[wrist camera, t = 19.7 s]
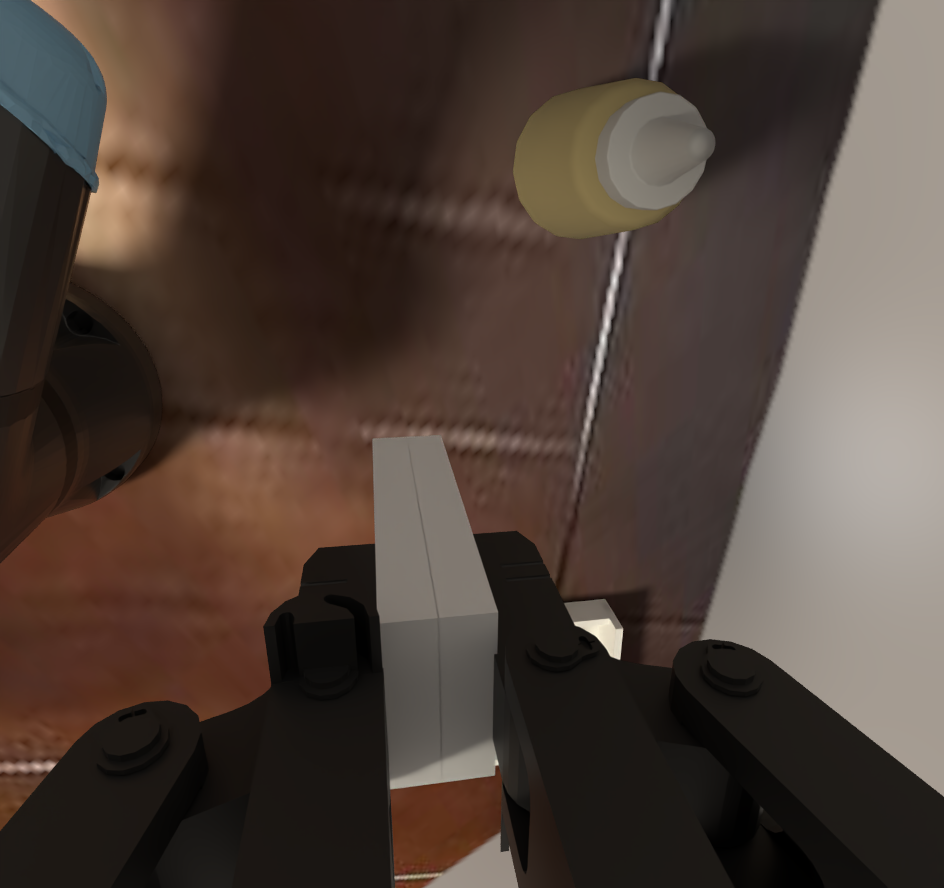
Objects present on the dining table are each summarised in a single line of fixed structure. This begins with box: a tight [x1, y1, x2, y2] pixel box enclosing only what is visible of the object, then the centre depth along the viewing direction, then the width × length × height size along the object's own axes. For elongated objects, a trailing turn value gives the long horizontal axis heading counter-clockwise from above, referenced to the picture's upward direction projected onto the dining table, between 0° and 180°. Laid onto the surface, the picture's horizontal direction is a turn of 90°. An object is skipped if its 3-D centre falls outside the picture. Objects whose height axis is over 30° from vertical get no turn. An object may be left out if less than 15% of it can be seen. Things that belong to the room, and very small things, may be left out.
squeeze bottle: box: [513, 78, 716, 239], centre depth 32 cm, size 8×8×18 cm
